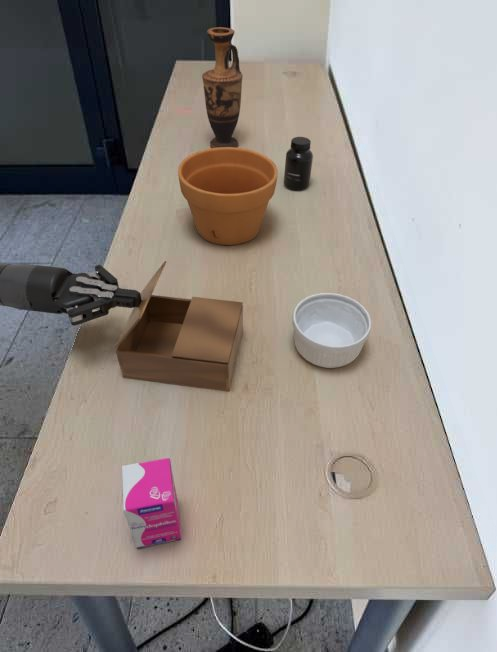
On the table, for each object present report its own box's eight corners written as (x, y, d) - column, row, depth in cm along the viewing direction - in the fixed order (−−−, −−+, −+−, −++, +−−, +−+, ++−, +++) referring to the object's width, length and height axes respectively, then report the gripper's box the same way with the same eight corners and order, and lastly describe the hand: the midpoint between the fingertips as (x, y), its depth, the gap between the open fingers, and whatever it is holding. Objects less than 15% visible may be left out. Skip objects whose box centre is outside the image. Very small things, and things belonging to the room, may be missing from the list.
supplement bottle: (287, 192, 125) (290, 147, 116) (280, 180, 130) (283, 135, 121) (312, 190, 126) (318, 145, 117) (305, 177, 131) (309, 133, 122)
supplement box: (136, 551, 61) (120, 510, 53) (134, 506, 65) (119, 462, 57) (182, 542, 62) (174, 500, 54) (178, 498, 66) (169, 454, 58)
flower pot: (292, 227, 113) (298, 167, 103) (230, 267, 102) (229, 205, 92) (227, 195, 123) (226, 138, 113) (164, 229, 112) (156, 169, 102)
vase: (213, 156, 139) (208, 38, 118) (200, 141, 146) (194, 27, 125) (248, 150, 142) (249, 34, 121) (234, 135, 149) (233, 23, 128)
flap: (140, 319, 70) (138, 318, 70) (116, 348, 76) (114, 348, 76) (166, 261, 80) (165, 260, 80) (143, 291, 86) (141, 290, 86)
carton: (229, 391, 79) (228, 362, 74) (122, 377, 81) (114, 348, 76) (242, 331, 89) (243, 302, 84) (147, 320, 91) (142, 290, 86)
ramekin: (364, 379, 81) (372, 351, 76) (286, 369, 82) (289, 341, 78) (363, 325, 90) (370, 296, 85) (293, 316, 92) (296, 288, 87)
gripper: (60, 280, 86) (154, 291, 85) (24, 332, 77) (130, 345, 75) (48, 245, 81) (148, 256, 79) (9, 297, 72) (121, 310, 70)
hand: (139, 299), depth 77 cm, fingers closed
